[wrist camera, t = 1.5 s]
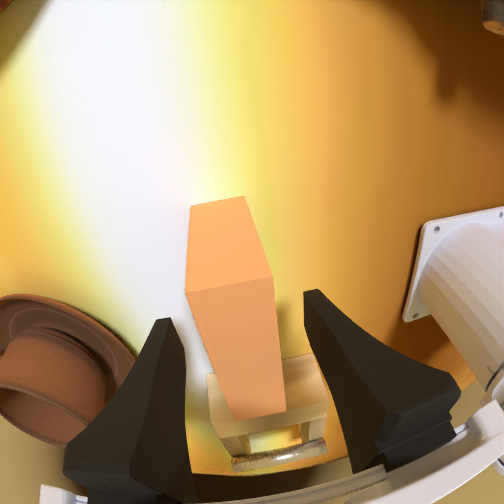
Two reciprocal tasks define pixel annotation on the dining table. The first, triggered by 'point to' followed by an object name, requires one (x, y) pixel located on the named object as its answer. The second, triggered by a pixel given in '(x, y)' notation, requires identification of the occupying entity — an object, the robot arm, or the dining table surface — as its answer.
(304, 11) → the dining table surface
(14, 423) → the cup and saucer
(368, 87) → the dining table surface
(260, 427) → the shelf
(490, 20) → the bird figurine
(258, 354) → the orange long block
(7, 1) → the bread roll
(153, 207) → the dining table surface
